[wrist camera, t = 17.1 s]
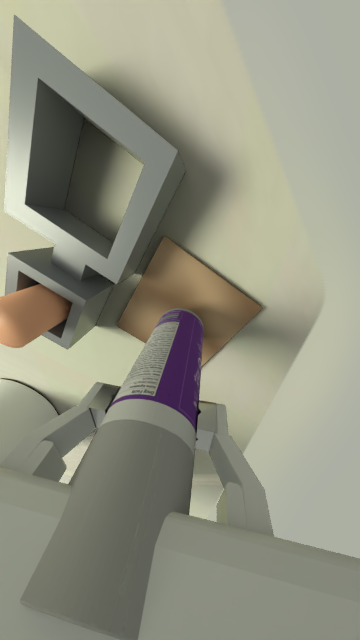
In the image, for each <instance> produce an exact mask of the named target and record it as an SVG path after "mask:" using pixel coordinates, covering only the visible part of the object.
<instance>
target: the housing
mask: <svg viewBox="0 0 360 640" xmlns="http://www.w3.org/2000/svg"><path fill="white" fill-rule="evenodd" d="M84 118H85V119H86V120H88V121H89V122H90V123H91V124H93V125H94V126H95V127H97V128H98V129H99V130H100V131H102V132H103V133H104V134H105V135H107V136H108V137H109V138H110V139H112V140H113V141H114V142H116V143H117V144H118V145H119V146H121V147H122V148H123V149H124V150H126V151H127V152H128V153H130V154H131V155H132V156H133V157H135V158H136V159H137V160H138V161H140V162H141V163H142V164H144V166H143V169H142V172H141V174H140V177H139V179H138V182H137V184H136V187H135V190H134V192H133V195H132V197H131V200H130V202H129V205H128V208H127V210H126V213H125V215H124V218H123V220H122V223H121V225H120V228H119V231H118V233H117V236H116V238H115V241H114V243H112V242H111V241H109V240H108V239H107V238H105V237H104V236H102V235H101V234H99V233H98V232H96V231H95V230H93V229H92V228H90V227H89V226H88V225H86V224H85V223H83V222H82V221H80V220H79V219H77V218H76V217H74V216H73V215H72V214H70V213H69V212H67V211H66V210H64V207H65V202H66V198H67V193H68V188H69V184H70V179H71V175H72V170H73V165H74V161H75V156H76V151H77V147H78V142H79V138H80V133H81V128H82V124H83V119H84ZM185 171H186V169H185V166H184V164H183V162H182V159H181V157H180V154H179V152H178V150H177V149H176V148H174V147H173V146H172V145H171V144H170V143H168V142H167V141H166V140H165V139H163V138H162V137H161V136H160V135H159V134H157V133H156V132H155V131H154V130H153V129H151V128H150V127H149V126H148V125H147V124H145V123H144V122H143V121H142V120H141V119H139V118H138V117H137V116H136V115H135V114H133V113H132V112H131V111H130V110H129V109H127V108H126V107H125V106H124V105H123V104H121V103H120V102H119V101H118V100H117V99H115V98H114V97H113V96H112V95H111V94H109V93H108V92H107V91H106V90H105V89H103V88H102V87H101V86H100V85H99V84H97V83H96V82H95V81H94V80H93V79H91V78H90V77H89V76H88V75H86V74H85V73H84V72H83V71H82V70H80V69H79V68H78V67H77V66H76V65H74V64H73V63H72V62H71V61H70V60H68V59H67V58H66V57H65V56H64V55H62V54H61V53H60V52H59V51H58V50H56V49H55V48H54V47H53V46H52V45H50V44H49V43H48V42H47V41H46V40H44V39H43V38H42V37H41V36H40V35H38V34H37V33H36V32H35V31H34V30H32V29H31V28H30V27H29V26H28V25H26V24H25V23H24V22H23V21H22V20H20V19H19V18H18V17H17V16H15V15H14V25H13V45H12V65H11V85H10V105H9V125H8V144H7V164H6V184H5V204H4V212H6V213H7V214H9V215H10V216H12V217H13V218H15V219H16V220H18V221H19V222H21V223H23V224H24V225H26V226H27V227H29V228H30V229H32V230H33V231H35V232H36V233H38V234H40V235H41V236H43V237H44V238H46V239H47V240H49V241H50V242H52V243H53V244H55V245H54V247H51V248H43V249H35V250H27V251H19V252H11V253H8V257H7V271H6V286H5V295H8V294H11V293H14V292H17V291H20V290H23V289H26V288H29V287H32V286H35V285H38V284H42V285H44V286H46V287H47V288H49V289H51V290H52V291H54V292H56V293H57V294H59V295H61V296H62V297H64V298H66V299H67V300H69V301H71V302H72V306H71V310H70V313H69V316H68V318H67V319H65V320H64V321H62V322H61V323H59V324H58V325H56V326H54V327H53V328H51V329H50V330H48V331H47V332H45V333H43V334H42V336H44V337H46V338H48V339H50V340H51V341H53V342H55V343H57V344H59V345H60V346H62V347H64V348H66V349H69V348H70V347H71V346H73V345H74V344H75V343H76V342H77V341H78V340H80V339H81V338H82V337H83V336H84V335H85V334H87V333H88V332H89V331H90V330H91V329H92V328H93V327H95V325H96V323H97V321H98V318H99V316H100V314H101V312H102V309H103V307H104V305H105V303H106V301H107V298H108V296H109V294H110V292H111V289H112V287H113V285H114V284H113V283H111V282H110V281H108V280H107V279H105V278H103V277H102V276H100V275H99V274H98V273H100V274H101V275H103V276H105V277H106V278H108V279H109V280H111V281H112V282H114V283H115V284H118V283H120V282H122V281H123V280H125V279H126V278H128V277H130V276H131V275H133V274H134V273H135V271H136V269H137V267H138V265H139V263H140V261H141V259H142V257H143V255H144V253H145V251H146V249H147V247H148V245H149V243H150V241H151V239H152V237H153V235H154V233H155V231H156V229H157V227H158V225H159V223H160V221H161V219H162V217H163V215H164V213H165V211H166V209H167V207H168V205H169V203H170V201H171V199H172V197H173V195H174V193H175V191H176V189H177V187H178V185H179V183H180V181H181V179H182V177H183V175H184V173H185Z"/></svg>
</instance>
